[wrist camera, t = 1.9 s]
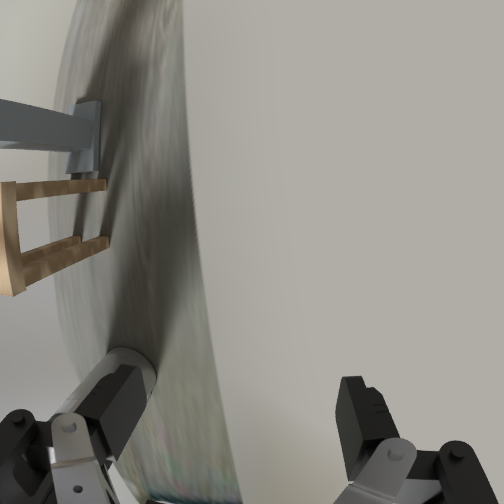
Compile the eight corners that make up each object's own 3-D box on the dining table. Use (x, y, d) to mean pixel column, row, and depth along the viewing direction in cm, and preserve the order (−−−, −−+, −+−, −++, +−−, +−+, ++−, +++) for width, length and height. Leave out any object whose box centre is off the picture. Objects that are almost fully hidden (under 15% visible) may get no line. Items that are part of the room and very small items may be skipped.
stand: (98, 170, 38) (-118, 184, 7) (71, 173, 39) (-129, 193, 8) (101, 101, 36) (-93, 43, 5) (74, 107, 37) (-112, 69, 5)
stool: (110, 249, 41) (13, 296, 21) (72, 247, 41) (-26, 289, 22) (107, 177, 39) (0, 182, 19) (68, 180, 39) (-37, 190, 20)
